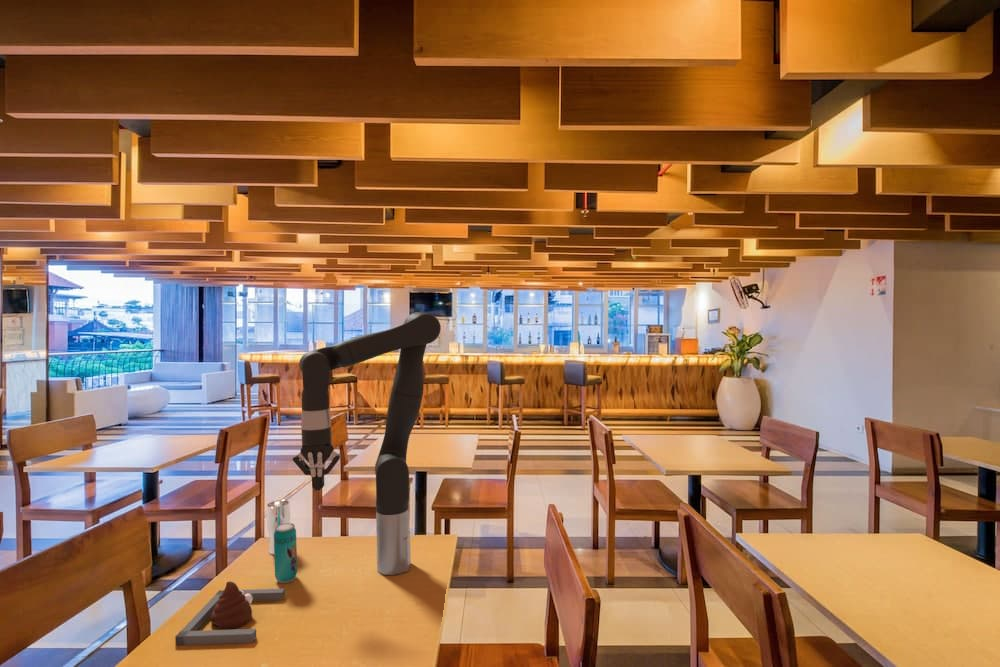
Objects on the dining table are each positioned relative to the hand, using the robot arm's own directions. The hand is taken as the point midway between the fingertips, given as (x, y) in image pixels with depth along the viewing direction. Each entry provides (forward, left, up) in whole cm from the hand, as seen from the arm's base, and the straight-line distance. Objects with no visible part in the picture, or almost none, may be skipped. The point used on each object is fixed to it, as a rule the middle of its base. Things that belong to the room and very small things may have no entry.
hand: (318, 489), depth 143 cm
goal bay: (+16, +14, -27) cm, 34 cm away
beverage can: (+11, -5, -27) cm, 30 cm away
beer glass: (+20, -24, -27) cm, 41 cm away
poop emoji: (+17, +14, -27) cm, 35 cm away
